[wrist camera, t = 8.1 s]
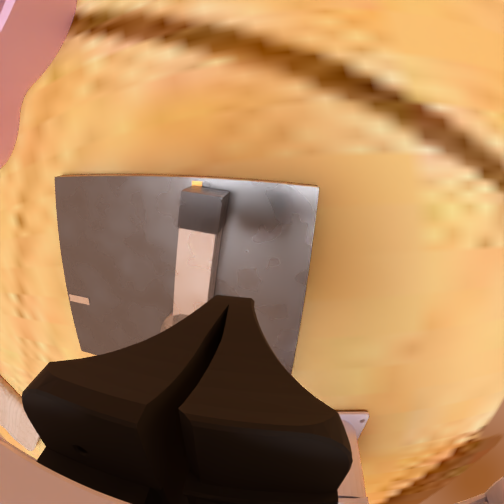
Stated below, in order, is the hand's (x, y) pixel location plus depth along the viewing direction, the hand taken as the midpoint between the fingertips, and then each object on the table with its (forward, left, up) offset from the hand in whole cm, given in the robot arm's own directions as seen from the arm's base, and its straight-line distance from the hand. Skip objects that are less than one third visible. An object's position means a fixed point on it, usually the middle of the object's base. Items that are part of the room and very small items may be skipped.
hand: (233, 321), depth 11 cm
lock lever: (-2, +3, -8) cm, 9 cm away
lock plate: (-4, +6, -9) cm, 11 cm away
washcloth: (-32, +37, -10) cm, 50 cm away
